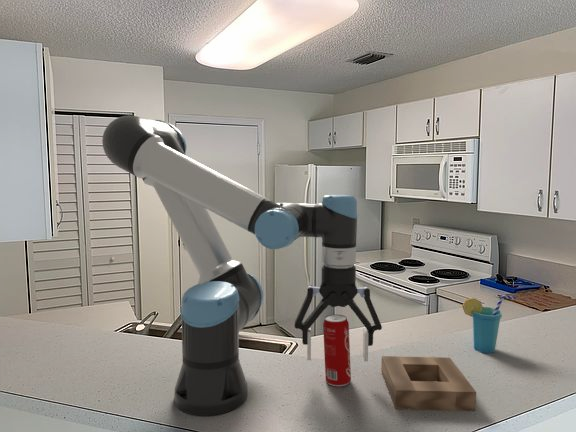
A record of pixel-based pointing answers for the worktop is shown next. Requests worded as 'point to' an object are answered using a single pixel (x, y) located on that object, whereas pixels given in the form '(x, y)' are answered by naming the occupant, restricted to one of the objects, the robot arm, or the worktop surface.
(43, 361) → the worktop surface
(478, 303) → the cup
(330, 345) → the beverage can
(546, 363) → the worktop surface
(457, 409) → the socket
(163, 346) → the worktop surface
